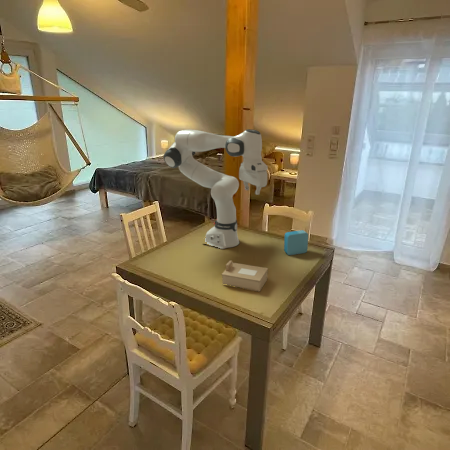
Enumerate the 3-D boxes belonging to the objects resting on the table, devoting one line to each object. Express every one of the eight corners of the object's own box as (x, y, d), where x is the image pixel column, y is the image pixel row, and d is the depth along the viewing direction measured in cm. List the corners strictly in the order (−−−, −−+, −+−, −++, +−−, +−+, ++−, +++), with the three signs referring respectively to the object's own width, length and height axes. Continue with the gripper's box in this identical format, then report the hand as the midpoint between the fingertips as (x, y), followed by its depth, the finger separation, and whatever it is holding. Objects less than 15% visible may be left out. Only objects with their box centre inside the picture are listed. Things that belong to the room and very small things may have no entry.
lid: (221, 275, 162) (221, 268, 160) (231, 263, 172) (231, 256, 171) (259, 281, 155) (259, 274, 153) (267, 269, 165) (268, 262, 164)
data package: (303, 249, 197) (304, 229, 193) (307, 252, 193) (308, 232, 189) (283, 252, 194) (284, 232, 190) (287, 255, 190) (287, 235, 186)
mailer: (222, 284, 164) (222, 275, 162) (232, 273, 174) (232, 264, 172) (259, 291, 157) (259, 282, 155) (267, 279, 167) (267, 269, 165)
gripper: (235, 161, 176) (235, 188, 181) (258, 168, 160) (258, 197, 164) (246, 160, 179) (246, 186, 184) (270, 167, 162) (269, 195, 167)
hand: (252, 192), depth 174 cm, fingers open, 8 cm apart
